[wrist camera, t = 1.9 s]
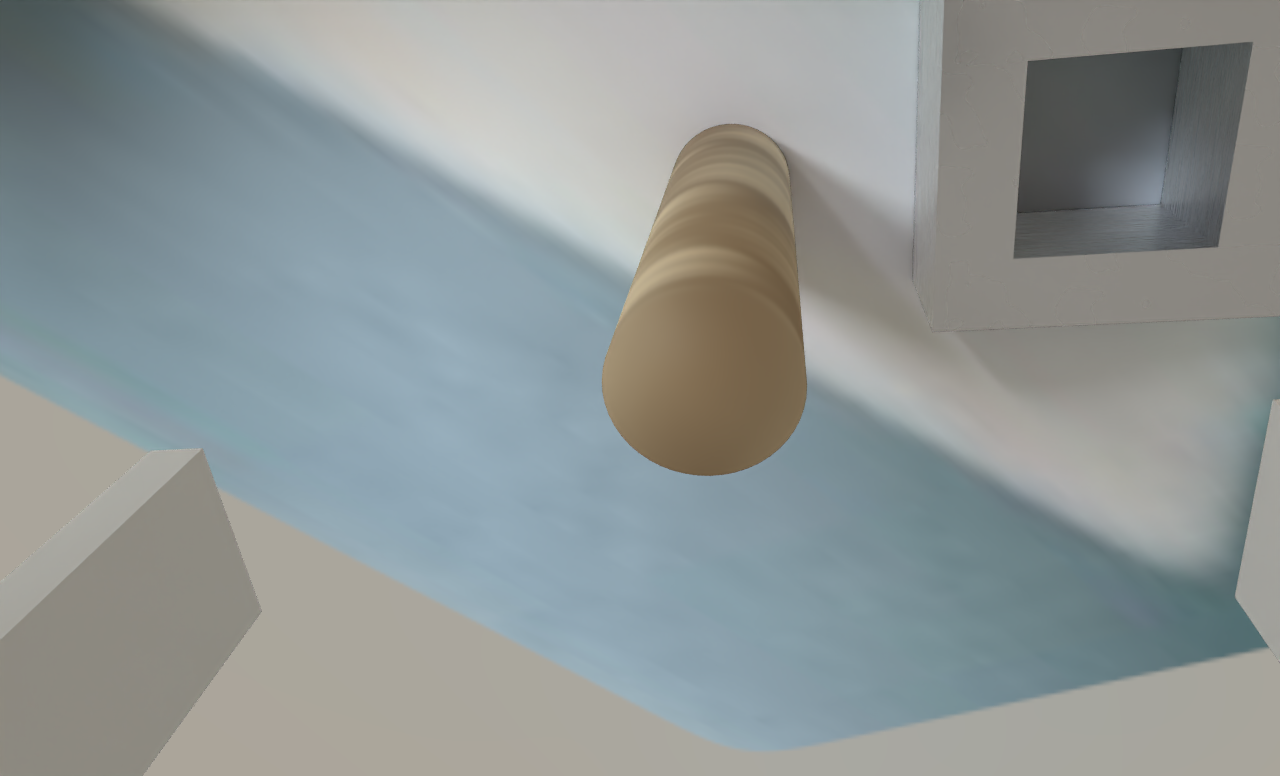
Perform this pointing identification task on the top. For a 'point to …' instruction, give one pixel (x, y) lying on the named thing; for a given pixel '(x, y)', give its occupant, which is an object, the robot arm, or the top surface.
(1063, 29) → the socket
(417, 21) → the top surface
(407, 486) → the top surface
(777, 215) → the peg
